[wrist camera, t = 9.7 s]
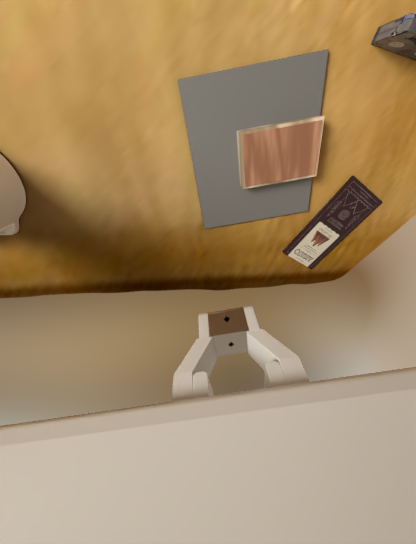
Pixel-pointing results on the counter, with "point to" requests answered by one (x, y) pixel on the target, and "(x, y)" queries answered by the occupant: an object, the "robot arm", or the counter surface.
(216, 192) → the mat
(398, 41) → the mini dv tape
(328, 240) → the chocolate bar
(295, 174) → the wooden block
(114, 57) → the counter surface
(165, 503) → the robot arm
